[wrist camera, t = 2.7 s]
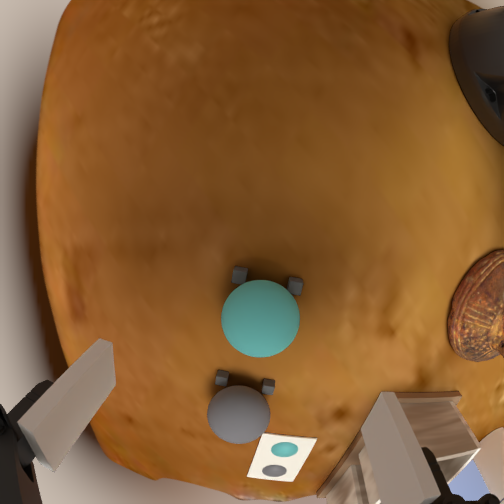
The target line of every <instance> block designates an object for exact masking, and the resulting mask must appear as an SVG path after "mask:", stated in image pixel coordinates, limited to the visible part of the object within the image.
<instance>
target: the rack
mask: <svg viewBox="0 0 504 504" xmlns="http://www.w3.org/2000/svg"><path fill="white" fill-rule="evenodd" d="M394 393H395V395H396V397H397V399H398V401H399V403H400V405H401V407H402V409H403V411H404V413H405V415H406V417H407V419H408V421H409V423H410V425H411V428H412V430H413V432H414V434H415V436H416V438H417V440H418V443H419V445H420V447H428V448H429V449H430V450H431V451H432V452H433V453H434V455H435V457H436V460H437V464H439V466H440V468H441V469H440V470H442V473H443V475H444V477H445V479H446V482H447V484H449V483H450V482H451V481H452V480H453V479H454V478H455V477H456V476H457V475H458V474H459V473H460V472H461V470H463V468H464V467H465V466H466V465H467V464H468V463H469V462H470V461H471V460H472V459H473V457H474V456H475V455H476V454H477V453H478V452H479V450H480V449H481V448H482V447H481V445H480V444H479V442H478V440H477V439H476V437H475V435H474V434H473V432H472V430H471V429H470V427H469V426H468V424H467V422H466V421H465V419H464V418H463V416H462V414H461V413H460V411H459V410H458V408H457V407H456V405H457V403H458V402H459V400H460V399H461V397H462V395H461V394H460V393H459V391H453V392H422V393H404V392H394ZM317 498H326V500H327V504H381V501H380V497H379V493H378V489H377V485H376V482H375V478H374V474H373V470H372V467H371V463H370V460H369V456H368V452H367V449H366V446H365V442H364V439H363V435H362V432H361V429H360V431H359V433H358V434H357V436H356V437H355V439H354V441H353V442H352V444H351V445H350V447H349V448H348V450H347V451H346V453H345V454H344V456H343V457H342V459H341V460H340V462H339V463H338V465H337V466H336V467H335V469H334V470H333V472H332V473H331V474H330V476H329V477H328V478H327V480H326V481H325V482H324V484H323V485H322V486H321V488H320V489H319V490H318V491H317Z"/></svg>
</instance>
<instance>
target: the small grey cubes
mask: <svg viewBox="0 0 504 504" xmlns="http://www.w3.org/2000/svg"><path fill="white" fill-rule="evenodd" d="M247 272H248V268H243V267H238V266H235V268H234V270H233V275H232V281H231V283H236V284H241V285H242V284H244V283H245V282H246V278H247ZM302 287H303V280H302V279H300V278H295V277H289V281H288V285H287V290H288V291H289V292H290V294H293V295H299V296H300V295H301V291H302ZM228 376H229V372H227V371H222V370H218V373H217V376H216V382H215V384H216V385H220V386H225V387H226V385H227V381H228ZM274 388H275V380H269V379H264V381H263V385H262V392H261V393H262V394H268V395H273V391H274Z"/></svg>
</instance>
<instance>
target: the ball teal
mask: <svg viewBox="0 0 504 504" xmlns="http://www.w3.org/2000/svg"><path fill="white" fill-rule="evenodd" d="M221 322H222V328H223V331H224V334H225V336H226V338H227V340H228V341H229V342H230V344H231V345H232V346H233V347H234V348H235V349H237V350H238V351H240V352H241V353H243V354H246V355H248V356H252V357H269V356H272V355H275V354H278V353H280V352H281V351H283V350H284V349H285V348H287V347H288V346H289V345H290V344H291V342H292V341H293V340H294V338H295V336H296V334H297V331H298V328H299V324H300V314H299V309H298V305H297V303H296V301H295V299H294V297H293V296H292V295H291V294H290V292H289V291H288V290H287V289H285V288H284V287H283V286H281V285H279V284H277V283H275V282H272V281H268V280H253V281H249V282H246V283H244V284H242V285H240V286H239V287H237V288H236V289H235V290H234V291H233V292H232V293H231V294H230V295H229V296H228V298H227V299H226V301H225V303H224V306H223V309H222V314H221Z"/></svg>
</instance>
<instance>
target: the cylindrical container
mask: <svg viewBox="0 0 504 504" xmlns="http://www.w3.org/2000/svg"><path fill="white" fill-rule="evenodd" d="M479 444H480V445H481V447H482V448H481V449H480V450H479V452H478V453H477V454H476V455H475V456H474V457H473V460H474V462H475V464H476V466H477V468H478V470H479V471H480V473H481V475H482V477H483V479H484V481H485V483H486V485H487V487H488V489H489V492H490V494H494V495H495V496H497V497H498V499H499V501H500V504H504V428H503V427H501V428H498V429H496V430H494V431H492V432H491V433H490V434H488V435H487V436H486V437H485V438H483V439H482V440H481V441H480V442H479Z"/></svg>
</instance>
